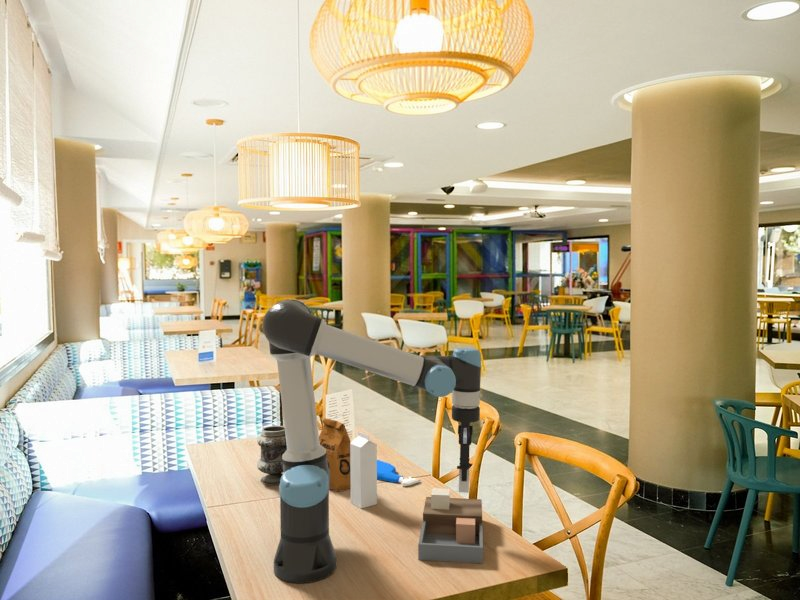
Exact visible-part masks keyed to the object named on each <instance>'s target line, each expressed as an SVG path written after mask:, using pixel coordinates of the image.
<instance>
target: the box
mask: <svg viewBox="0 0 800 600" xmlns="http://www.w3.org/2000/svg"><path fill="white" fill-rule="evenodd" d="M483 532H484V531H483V523H482V524H479V536H475V544H473V543H456V535H445V534H426V521H423V520H422V523H421V530H420V534H419V539H418V544H417V549H418V550H417V551H418V552H417V553H418V554H417V555H418V557H417V558H418V559H417V560H418V561H436V562H450V563H455V562H456V563H465V564H466V563H467V564H468V563H470V564H483V563H484V541H483V540H484V537H483V536H484V535H483Z"/></svg>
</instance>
